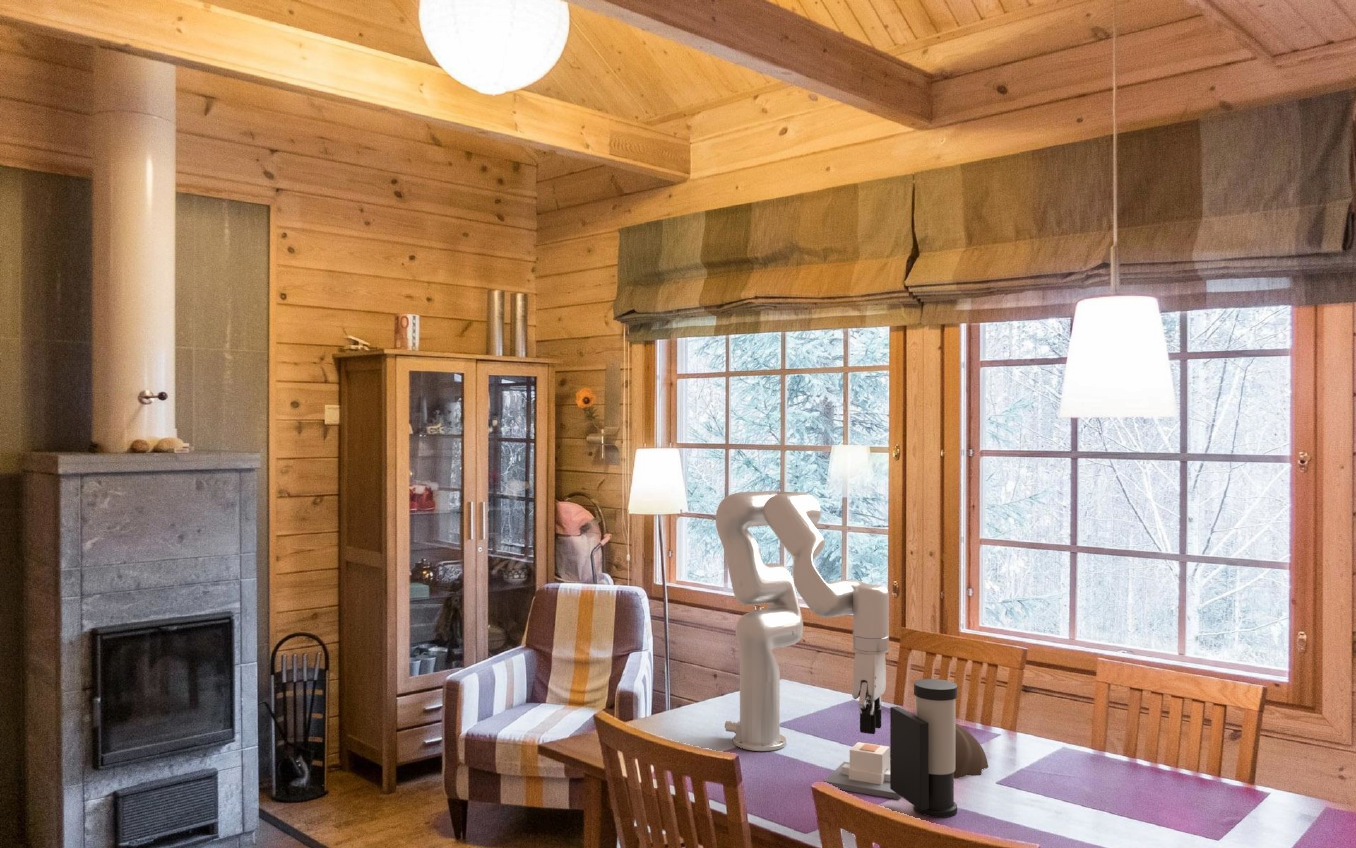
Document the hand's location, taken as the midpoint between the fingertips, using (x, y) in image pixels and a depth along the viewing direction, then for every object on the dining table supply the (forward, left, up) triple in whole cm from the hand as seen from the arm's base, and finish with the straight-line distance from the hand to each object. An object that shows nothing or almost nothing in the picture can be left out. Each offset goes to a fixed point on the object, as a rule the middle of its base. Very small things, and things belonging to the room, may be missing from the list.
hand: (870, 729), depth 215 cm
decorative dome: (+11, +20, -12) cm, 25 cm away
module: (0, 0, -10) cm, 10 cm away
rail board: (0, 0, -11) cm, 11 cm away
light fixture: (+15, -10, -11) cm, 21 cm away
